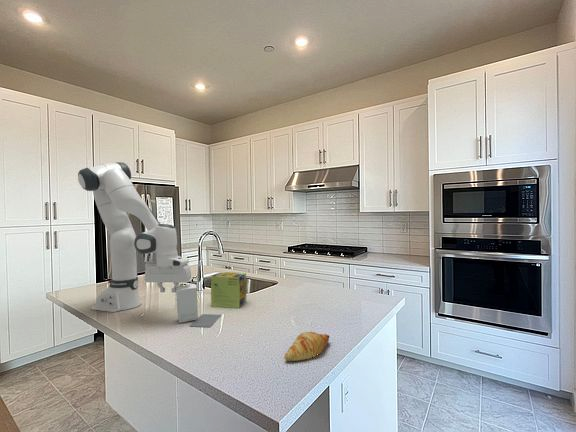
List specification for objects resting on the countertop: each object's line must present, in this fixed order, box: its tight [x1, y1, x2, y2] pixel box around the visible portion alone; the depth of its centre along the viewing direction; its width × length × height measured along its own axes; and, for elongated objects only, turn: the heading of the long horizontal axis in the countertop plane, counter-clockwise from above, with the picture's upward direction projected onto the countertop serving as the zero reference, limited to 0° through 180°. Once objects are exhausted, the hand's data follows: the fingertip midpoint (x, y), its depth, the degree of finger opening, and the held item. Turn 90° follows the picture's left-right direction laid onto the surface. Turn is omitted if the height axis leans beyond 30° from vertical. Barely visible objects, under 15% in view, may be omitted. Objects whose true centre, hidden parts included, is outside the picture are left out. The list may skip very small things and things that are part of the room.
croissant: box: [283, 331, 330, 362], centre depth 103 cm, size 21×10×8 cm, turn 134°
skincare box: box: [175, 283, 199, 324], centre depth 132 cm, size 8×6×15 cm
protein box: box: [210, 271, 247, 309], centre depth 154 cm, size 10×15×16 cm
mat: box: [189, 313, 222, 328], centre depth 132 cm, size 9×14×1 cm, turn 174°
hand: (168, 292), depth 133 cm, fingers open, 4 cm apart
